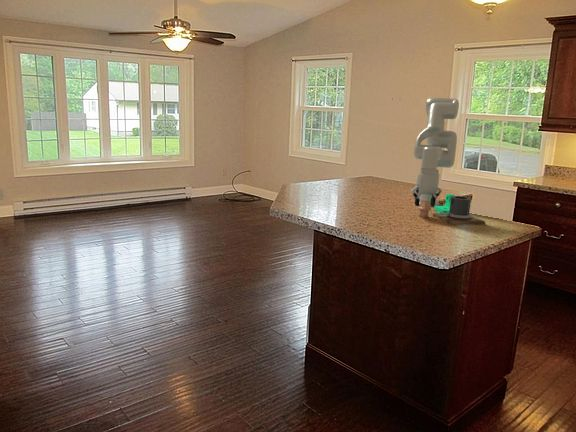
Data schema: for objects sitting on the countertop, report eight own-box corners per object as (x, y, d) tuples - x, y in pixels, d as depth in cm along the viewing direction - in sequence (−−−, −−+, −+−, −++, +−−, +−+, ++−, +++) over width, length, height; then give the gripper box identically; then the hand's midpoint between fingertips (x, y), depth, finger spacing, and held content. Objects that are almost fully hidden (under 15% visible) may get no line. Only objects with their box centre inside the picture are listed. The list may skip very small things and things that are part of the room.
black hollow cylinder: (441, 214, 249) (443, 195, 246) (462, 214, 251) (464, 195, 249) (454, 220, 237) (457, 200, 235) (476, 219, 240) (478, 200, 238)
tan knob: (414, 215, 251) (416, 198, 249) (425, 215, 253) (427, 198, 251) (420, 218, 245) (422, 201, 243) (432, 218, 247) (434, 201, 244)
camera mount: (433, 210, 266) (435, 192, 264) (445, 210, 268) (448, 192, 265) (443, 215, 255) (445, 196, 253) (456, 215, 256) (459, 196, 254)
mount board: (432, 216, 251) (433, 213, 251) (463, 215, 255) (464, 213, 255) (452, 224, 234) (452, 221, 234) (484, 224, 238) (485, 221, 238)
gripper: (440, 170, 249) (436, 204, 253) (409, 170, 245) (405, 204, 249) (447, 173, 242) (443, 207, 246) (416, 172, 238) (412, 207, 242)
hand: (424, 205), depth 247 cm, fingers open, 8 cm apart
